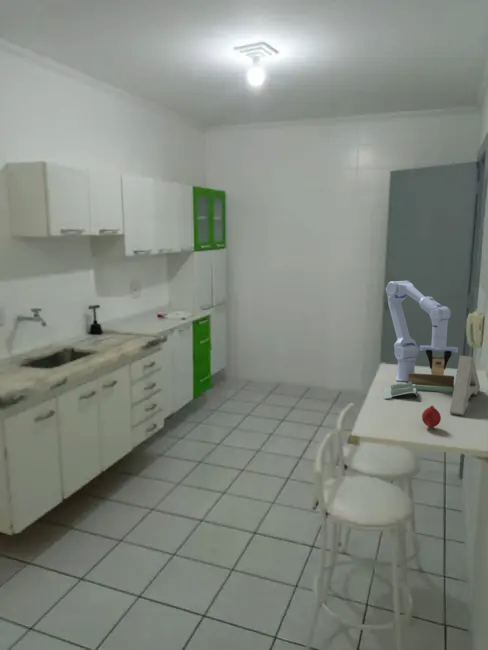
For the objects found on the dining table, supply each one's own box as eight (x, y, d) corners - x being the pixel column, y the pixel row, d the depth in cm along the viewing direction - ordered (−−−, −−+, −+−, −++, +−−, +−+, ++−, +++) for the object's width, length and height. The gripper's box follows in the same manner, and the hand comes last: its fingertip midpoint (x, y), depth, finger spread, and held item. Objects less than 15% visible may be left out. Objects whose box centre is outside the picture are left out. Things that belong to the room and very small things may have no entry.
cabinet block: (431, 371, 213) (431, 356, 212) (442, 372, 212) (443, 356, 210) (431, 375, 207) (432, 359, 206) (443, 375, 206) (444, 360, 205)
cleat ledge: (410, 385, 217) (410, 380, 217) (450, 388, 213) (451, 383, 212) (411, 389, 211) (411, 385, 210) (452, 392, 206) (452, 388, 206)
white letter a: (471, 438, 201) (462, 414, 178) (459, 436, 203) (449, 411, 180) (479, 386, 209) (472, 356, 186) (468, 384, 211) (459, 355, 188)
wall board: (408, 384, 219) (408, 372, 218) (453, 387, 214) (453, 375, 213) (408, 385, 218) (408, 373, 217) (453, 388, 212) (454, 376, 212)
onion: (418, 425, 170) (419, 402, 169) (435, 424, 171) (436, 402, 169) (425, 431, 165) (427, 408, 163) (443, 431, 165) (444, 407, 164)
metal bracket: (415, 378, 208) (417, 387, 194) (419, 391, 209) (421, 402, 195) (380, 385, 213) (379, 395, 199) (384, 398, 213) (383, 409, 199)
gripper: (421, 337, 206) (419, 369, 208) (459, 338, 202) (457, 372, 204) (420, 334, 212) (418, 365, 215) (457, 335, 208) (455, 367, 211)
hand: (437, 368), depth 210 cm, fingers closed on cabinet block, 4 cm apart
